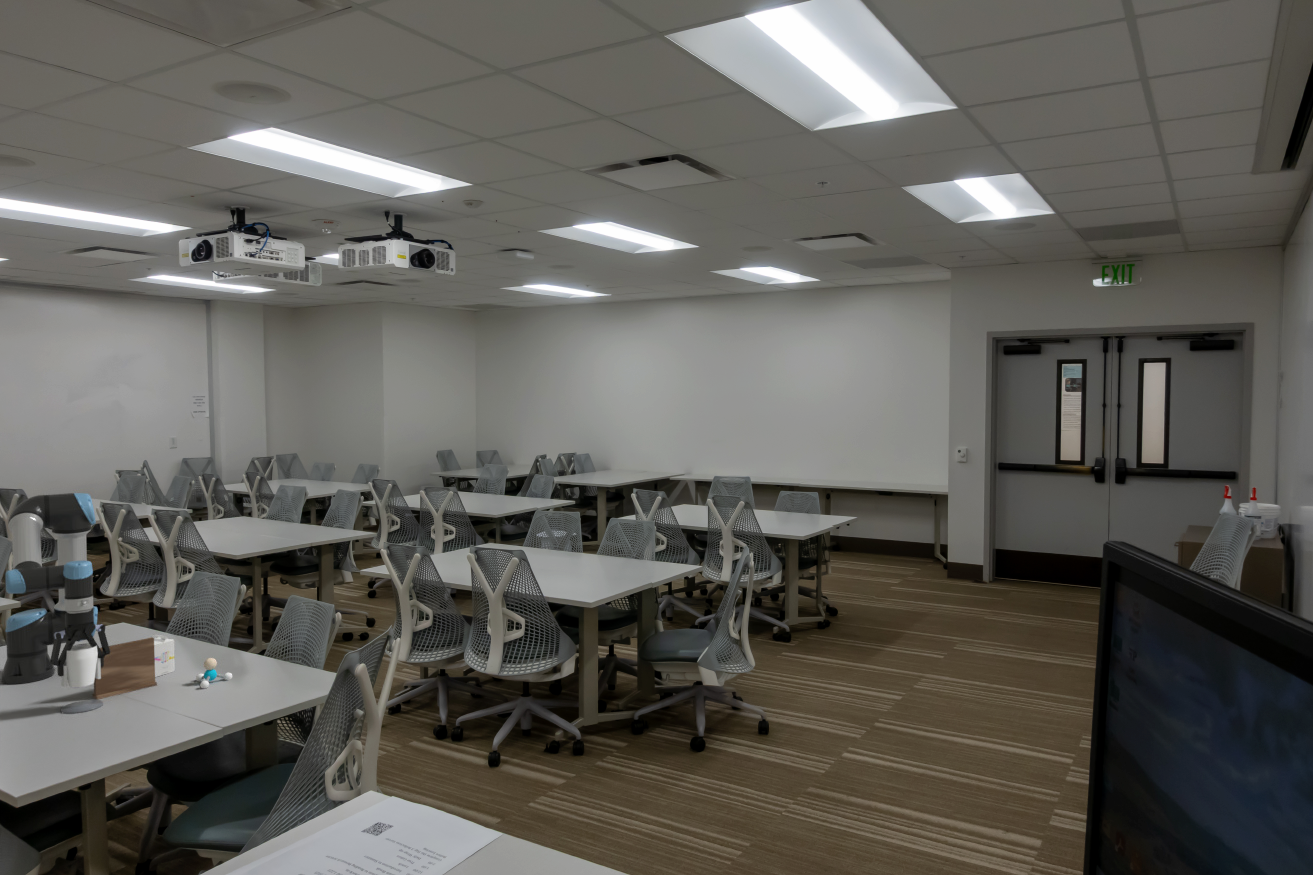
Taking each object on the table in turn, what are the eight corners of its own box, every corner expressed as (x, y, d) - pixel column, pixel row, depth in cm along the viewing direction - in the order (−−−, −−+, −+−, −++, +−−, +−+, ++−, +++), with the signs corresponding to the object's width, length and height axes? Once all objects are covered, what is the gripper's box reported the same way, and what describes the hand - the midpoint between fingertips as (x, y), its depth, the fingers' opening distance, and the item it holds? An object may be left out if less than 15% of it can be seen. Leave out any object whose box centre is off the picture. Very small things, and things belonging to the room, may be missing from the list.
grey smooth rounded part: (55, 708, 271) (55, 706, 271) (94, 699, 279) (94, 697, 279) (68, 715, 264) (68, 714, 264) (108, 705, 273) (108, 704, 273)
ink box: (137, 675, 305) (136, 637, 304) (158, 668, 313) (157, 632, 312) (154, 678, 302) (153, 640, 301) (175, 671, 309) (174, 634, 309)
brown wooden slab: (92, 697, 282) (91, 648, 281) (151, 682, 296) (150, 636, 295) (97, 699, 279) (96, 650, 279) (156, 685, 294) (155, 638, 293)
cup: (81, 689, 266) (80, 651, 266) (56, 688, 268) (55, 650, 268) (105, 681, 275) (104, 643, 275) (81, 679, 277) (80, 642, 276)
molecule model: (186, 683, 296) (186, 658, 296) (222, 675, 305) (221, 650, 305) (202, 690, 288) (201, 664, 288) (237, 681, 297) (237, 656, 297)
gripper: (44, 618, 260) (46, 693, 261) (121, 605, 277) (123, 675, 278) (35, 615, 265) (37, 688, 265) (111, 602, 282) (113, 671, 282)
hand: (81, 681), depth 271 cm, fingers closed on cup, 9 cm apart
